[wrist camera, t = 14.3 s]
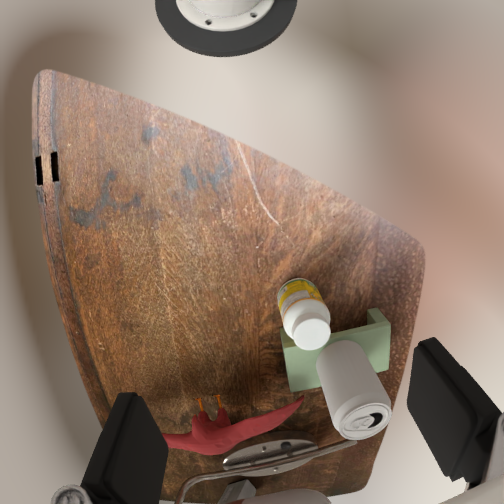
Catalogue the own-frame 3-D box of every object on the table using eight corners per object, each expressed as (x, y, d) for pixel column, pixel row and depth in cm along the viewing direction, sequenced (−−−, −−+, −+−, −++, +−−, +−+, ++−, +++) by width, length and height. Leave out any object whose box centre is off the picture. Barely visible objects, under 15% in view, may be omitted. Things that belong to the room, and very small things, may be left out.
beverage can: (360, 371, 40) (391, 434, 28) (314, 380, 40) (334, 448, 28) (363, 332, 38) (400, 394, 26) (313, 341, 38) (336, 409, 27)
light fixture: (385, 532, 31) (180, 565, 33) (355, 441, 51) (189, 479, 54) (383, 512, 28) (145, 546, 30) (346, 408, 48) (164, 451, 51)
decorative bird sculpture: (300, 375, 51) (296, 371, 37) (313, 427, 47) (315, 441, 33) (147, 406, 52) (100, 407, 39) (157, 453, 48) (113, 467, 35)
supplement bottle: (271, 284, 41) (280, 321, 32) (311, 271, 41) (330, 304, 32) (283, 319, 43) (294, 361, 33) (322, 306, 42) (341, 345, 33)
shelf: (377, 307, 43) (391, 324, 38) (376, 350, 45) (388, 369, 40) (279, 327, 43) (283, 348, 38) (286, 370, 45) (290, 392, 40)
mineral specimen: (237, 474, 52) (244, 508, 45) (258, 483, 56) (265, 514, 49) (207, 483, 53) (211, 516, 46) (229, 492, 57) (234, 522, 50)
